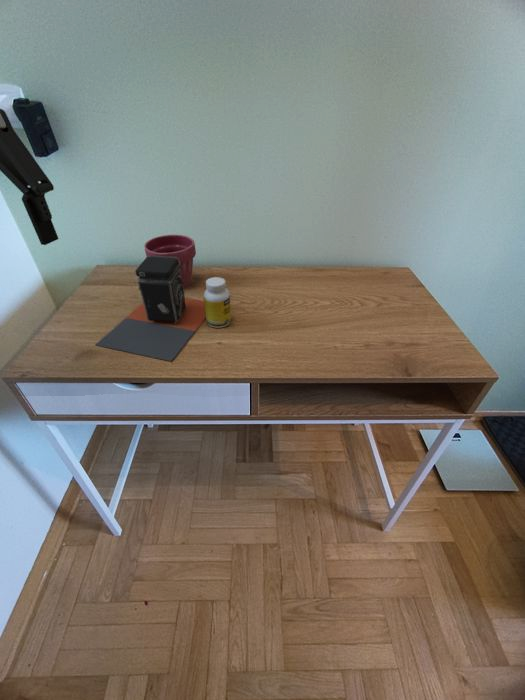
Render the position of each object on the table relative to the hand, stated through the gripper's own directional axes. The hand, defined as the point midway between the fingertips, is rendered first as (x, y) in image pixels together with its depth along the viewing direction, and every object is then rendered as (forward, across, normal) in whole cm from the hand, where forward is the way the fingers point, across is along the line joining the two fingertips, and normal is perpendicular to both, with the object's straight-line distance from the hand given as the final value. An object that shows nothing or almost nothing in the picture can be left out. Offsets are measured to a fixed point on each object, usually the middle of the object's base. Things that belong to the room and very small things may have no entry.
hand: (15, 237), depth 51 cm
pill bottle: (+29, -22, -26) cm, 45 cm away
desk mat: (+29, -8, -21) cm, 36 cm away
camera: (+29, -8, -25) cm, 39 cm away
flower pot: (+29, -1, -42) cm, 51 cm away
